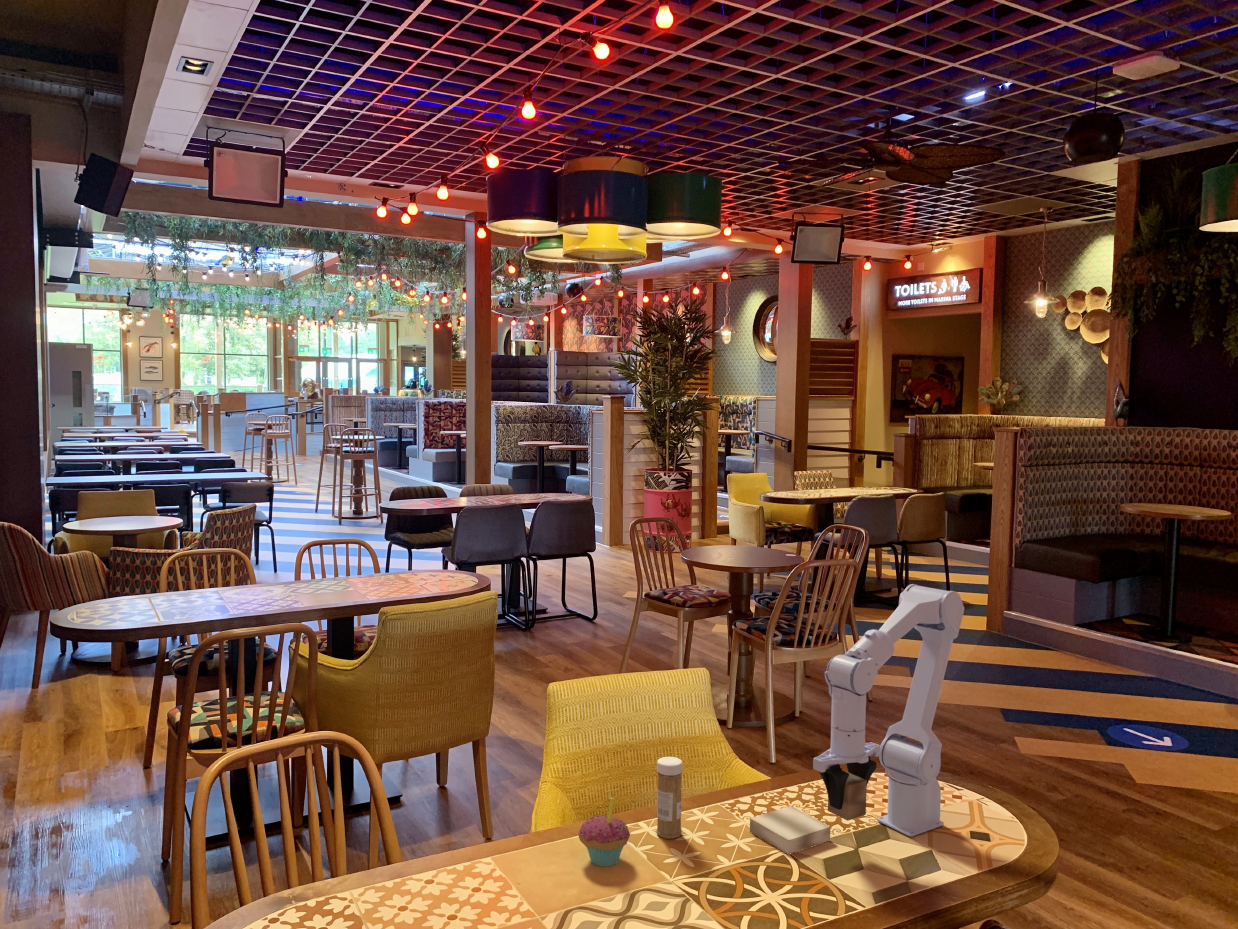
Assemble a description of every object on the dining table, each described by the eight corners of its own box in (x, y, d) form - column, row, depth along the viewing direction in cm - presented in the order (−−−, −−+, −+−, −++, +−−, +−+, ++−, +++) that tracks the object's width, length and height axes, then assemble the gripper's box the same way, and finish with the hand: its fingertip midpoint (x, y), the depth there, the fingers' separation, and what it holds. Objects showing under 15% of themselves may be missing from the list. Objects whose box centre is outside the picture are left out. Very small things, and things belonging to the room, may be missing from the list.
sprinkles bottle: (686, 836, 162) (687, 762, 161) (666, 842, 159) (667, 767, 159) (671, 826, 166) (672, 754, 165) (650, 832, 163) (652, 758, 162)
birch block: (790, 821, 169) (791, 806, 169) (829, 843, 161) (830, 826, 161) (749, 834, 164) (750, 818, 164) (788, 857, 155) (788, 840, 155)
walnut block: (845, 805, 159) (846, 771, 159) (865, 814, 155) (866, 780, 155) (827, 811, 157) (828, 777, 156) (847, 820, 153) (848, 786, 153)
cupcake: (639, 860, 153) (640, 790, 152) (604, 878, 147) (605, 805, 146) (603, 843, 159) (603, 776, 158) (567, 860, 152) (568, 790, 152)
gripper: (836, 741, 148) (834, 822, 149) (894, 725, 156) (892, 802, 157) (804, 728, 154) (802, 806, 155) (863, 714, 162) (861, 788, 163)
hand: (846, 804), depth 156 cm, fingers closed on walnut block, 4 cm apart
